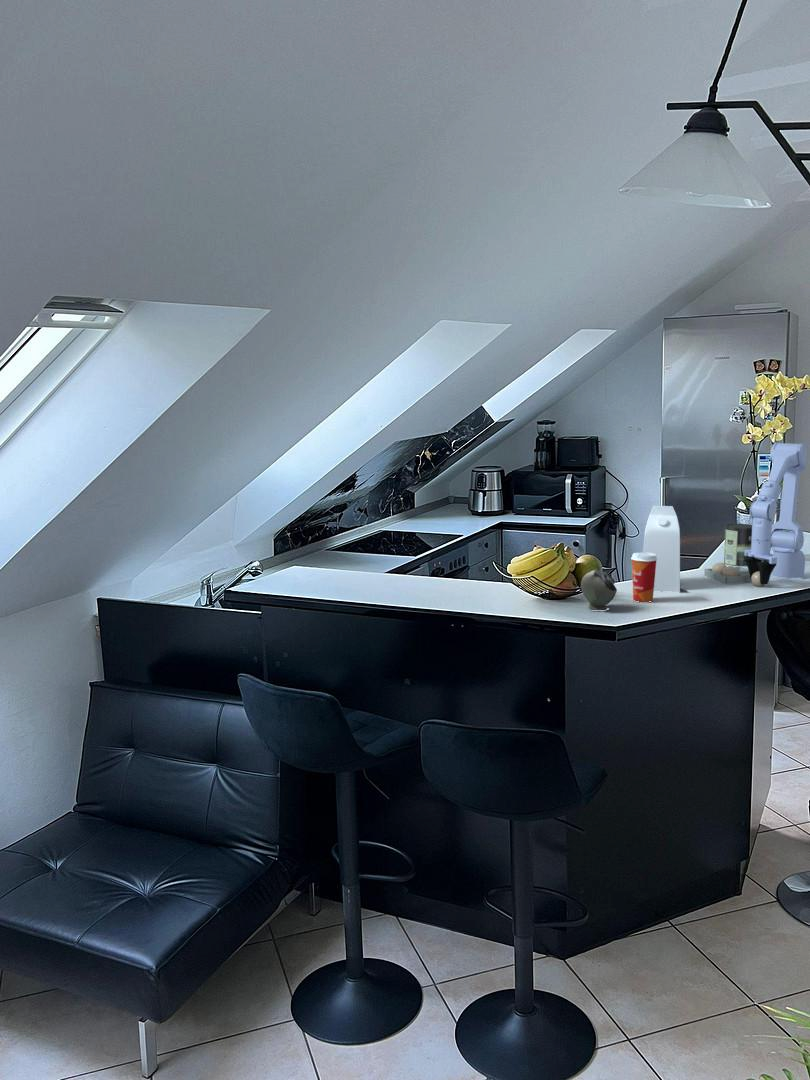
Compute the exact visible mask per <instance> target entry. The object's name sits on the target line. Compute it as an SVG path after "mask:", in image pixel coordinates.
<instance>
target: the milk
mask: <svg viewBox="0 0 810 1080" xmlns="http://www.w3.org/2000/svg"><path fill="white" fill-rule="evenodd" d="M642 548H643V549H642V553H653V554H656V557H657V559H658V560H656V571H655V582H654V591H672V592H680V593H681V529H680V522H679V519H678V515H677V513H676V511H675V509H674V506H673V505H669V506H668V505H653V506H652V508H651V510H650V513H649V515H648V518H647V522H646V525H645V529H644V536H643V547H642Z"/></svg>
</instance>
